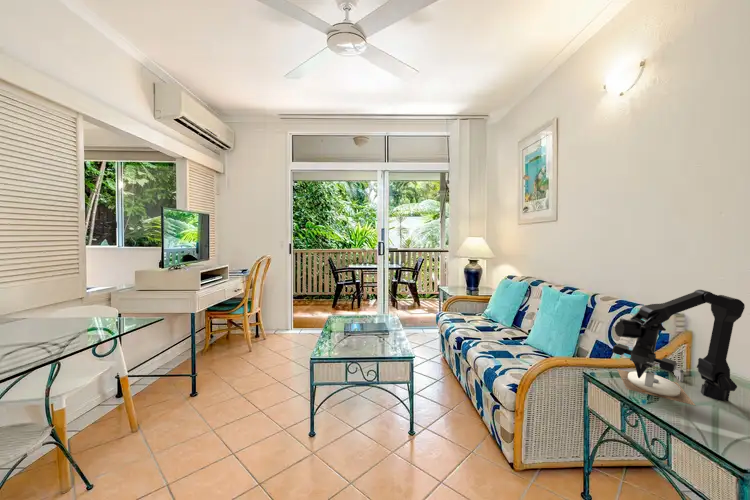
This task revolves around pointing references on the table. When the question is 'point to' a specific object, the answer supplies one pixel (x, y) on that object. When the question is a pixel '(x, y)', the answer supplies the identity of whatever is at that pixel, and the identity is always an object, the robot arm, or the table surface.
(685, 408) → the table surface
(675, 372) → the caliper
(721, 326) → the robot arm
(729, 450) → the table surface
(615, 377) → the table surface
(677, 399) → the dial base
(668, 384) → the dial
